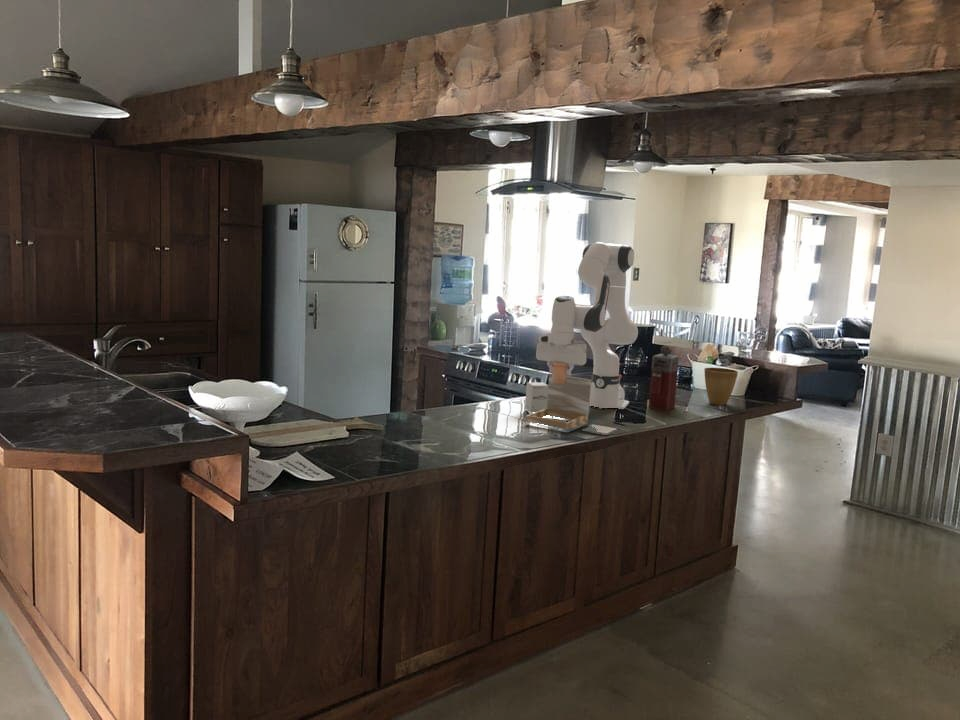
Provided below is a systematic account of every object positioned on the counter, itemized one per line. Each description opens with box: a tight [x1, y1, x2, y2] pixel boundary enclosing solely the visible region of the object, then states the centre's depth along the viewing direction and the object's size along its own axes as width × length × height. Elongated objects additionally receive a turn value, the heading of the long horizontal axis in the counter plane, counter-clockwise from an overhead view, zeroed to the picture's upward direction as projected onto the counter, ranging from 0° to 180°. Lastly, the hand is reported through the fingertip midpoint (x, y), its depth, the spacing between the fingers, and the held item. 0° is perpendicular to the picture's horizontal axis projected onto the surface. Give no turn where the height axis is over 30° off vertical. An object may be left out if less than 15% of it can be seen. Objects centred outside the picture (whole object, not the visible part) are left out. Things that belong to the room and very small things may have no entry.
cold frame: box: [525, 373, 592, 429], centre depth 303 cm, size 19×18×18 cm
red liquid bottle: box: [648, 344, 679, 411], centre depth 344 cm, size 9×11×28 cm
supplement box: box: [524, 381, 549, 412], centre depth 322 cm, size 7×7×13 cm
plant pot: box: [704, 367, 739, 406], centre depth 359 cm, size 15×15×16 cm
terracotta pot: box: [552, 362, 569, 384], centre depth 301 cm, size 6×6×8 cm
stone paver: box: [590, 424, 617, 433], centre depth 297 cm, size 10×10×1 cm
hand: (560, 374), depth 301 cm, fingers closed on terracotta pot, 6 cm apart
